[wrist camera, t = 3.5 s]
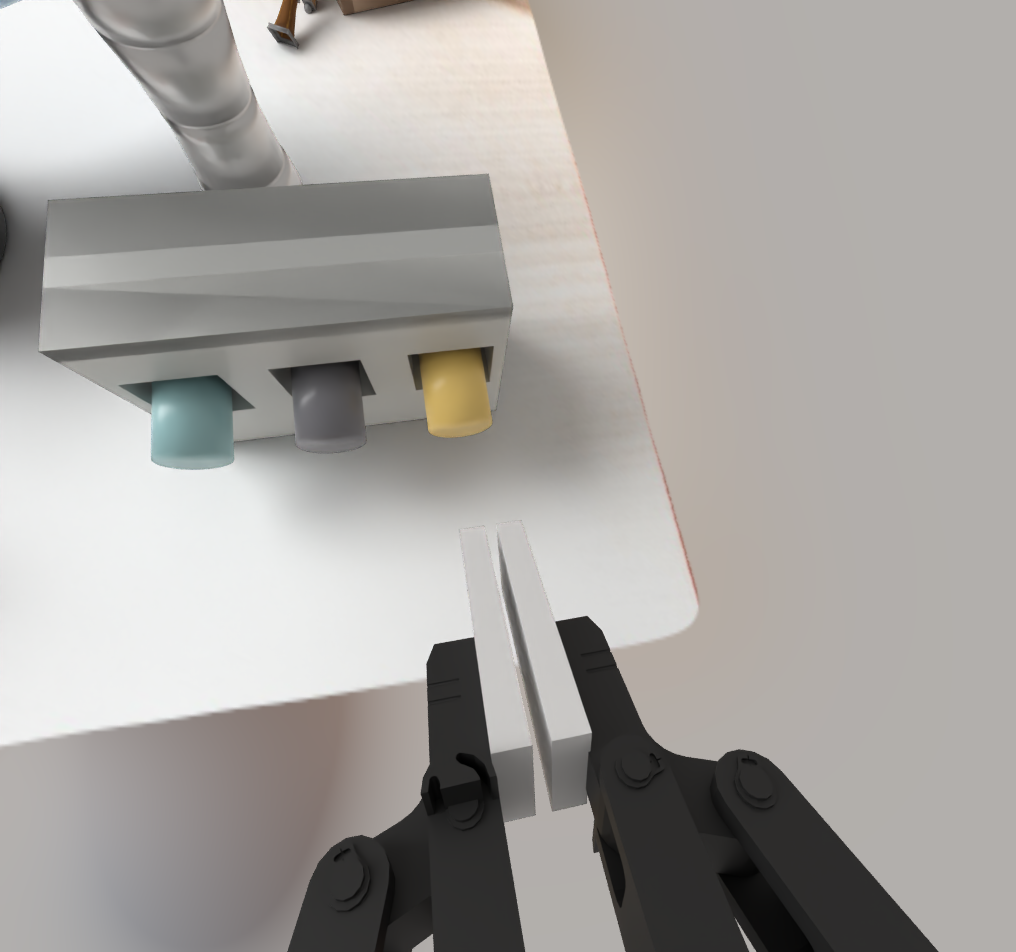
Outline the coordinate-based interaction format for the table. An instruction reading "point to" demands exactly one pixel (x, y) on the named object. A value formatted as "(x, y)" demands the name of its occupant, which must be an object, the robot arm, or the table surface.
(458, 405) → the amber button
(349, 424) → the charcoal button
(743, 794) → the robot arm
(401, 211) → the console
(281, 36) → the wooden post with brackets
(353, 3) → the organizer frame
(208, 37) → the plastic bottle
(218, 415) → the teal button
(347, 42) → the table surface
